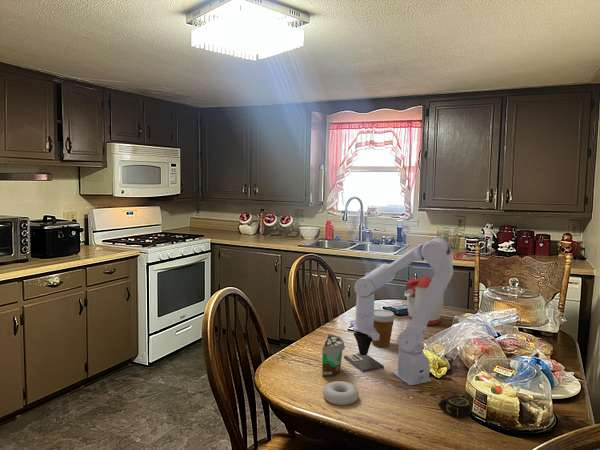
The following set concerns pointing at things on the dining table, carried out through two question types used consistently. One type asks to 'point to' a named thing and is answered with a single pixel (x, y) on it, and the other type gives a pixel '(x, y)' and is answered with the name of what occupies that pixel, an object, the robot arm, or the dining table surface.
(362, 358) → the label panel
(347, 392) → the donut
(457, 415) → the tape measure
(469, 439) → the dining table surface
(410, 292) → the citrus juicer
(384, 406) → the dining table surface
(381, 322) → the disposable coffee cup
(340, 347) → the food container
